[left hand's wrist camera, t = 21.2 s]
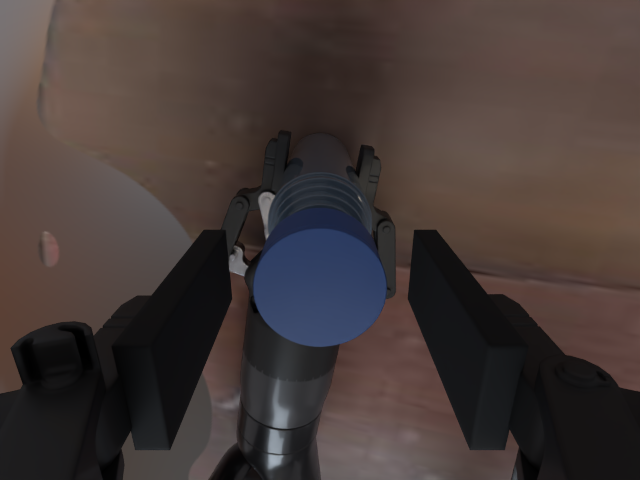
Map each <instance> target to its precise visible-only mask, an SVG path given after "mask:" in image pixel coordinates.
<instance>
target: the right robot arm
mask: <svg viewBox="0 0 640 480" xmlns="http://www.w3.org/2000/svg"><path fill="white" fill-rule="evenodd" d="M290 139H291V132H289V131H283V130H281V131H280V132H279V134H278V139H276V138H272V139H271V140H270V142H269V143H268V145H267V147H266V152H265V161H264V169H263V178H262V185H261V186H259V187H257V188H251V189H249V188H242V189H240V190H239V192H238V193H237V195H236V196H235V197H234V198H233V199H232V201H231V203H230V206H229V209H228V211H227V214H226V217H225V220H224V222H223V225H222V228H221V230H226V238H227V249H228V259H229V270H230V271H231V272H234V273H236V274H239V275H242V276H244V278H245V282H246V284H247V286H248V289H249V303H248V311H247V320H246V328H245V337H244V345H243V354H242V362H241V374H240V381H241V396H240V404H239V413H238V422H237V441H238V442H237V443H236V444H234V445H233V446H232V447H231V448H230V449H229V450H228V451H227V452H226V453H225V455H224V456H223V457H222V459H221V460H220V462H219V463H218V465H217V467H216V468H215V470H214V471H213V473H212V475H211V476H210V478H209V480H321V474H320V467H319V459H318V449H317V442H316V434H317V429H318V425H319V420H320V416H321V411H322V407H323V403H324V401H325V398H326V396H327V394H328V391H329V388H330V385H331V381H332V376H333V372H334V367H335V363H336V358H337V354H338V349H339V345H340V344H338V345H333V346H325V347H314V346H306V345H302V344H298V343H295V342H293V341H290V340H288V339H286V338H284V337H283V336H281V335H279V334H278V333H277V332H275V331H274V330H273V329H272V328H271V327H270V326H269V325H268V324H267V323H266V322H265V320H264V319H263V318H262V316H261V315H260V313H259V311H258V309H257V306H256V303H255V300H254V295H253V280H254V275H255V271H256V268H257V265H258V262H259V259H260V256H261V253H262V250H261V251H260V252H259V253H258V254H257V255H256V256H255V257H254V258H253V259H252V260H251V261H249V260H248V259H247V258H246V257H245V246H244V245H243V244H242V243H241V242H239V241H238V238H239V236H240V233H241V231H242V228H243V226H244V223H245V220H246V218H247V215H248V213H249V211H253V210H258V209H260V211H261V215H262V219H263V223H264V233H265V238H266V240H267V238H268V236H269V233H268V213H269V209H270V206H271V203H272V201H273V198H274V196H275V193H276V191H277V188H278V186H279V183H280V181H281V179H282V176H283V174H284V171H285V169H286V166H287V161H288V154H289V146H290ZM380 171H381V163H380V159H379V158H378V157H377V156H374V148H373V147H372V146H367V145H361V148H360V152H359V157H358V162H357V167H356V174H357V176H358V179H359V181H360V184H361V186H362V188H363V191H364V193H365V196H366V198H367V201H368V203H369V206H370V209H371V213H372V230H373V233H374V242H375V245H376V248H377V251H378V253H379V256H380V259H381V262H382V265H383V268H384V271H385V274H386V279H387V295H386V299H388V298H391V297H393V296H394V295H395V292H396V266H395V226H394V224H393V222H392V220H391V218H390V216H389V214H388V213H387V212H385V211H381V210H379V209H377V208H376V207H374V206H373V202H374V198H375V193H376V189H377V184H378V180H379V176H380Z"/></svg>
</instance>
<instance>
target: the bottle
mask: <svg viewBox="0 0 640 480" xmlns="http://www.w3.org/2000/svg"><path fill="white" fill-rule="evenodd" d="M311 208H329V209H334V210H338V211H341V212H344V213H346V214H348V215H350V216H352V217H353V218H355V219H356V220H358V221H359V222H360V223H361V224H362V225H363V226H364V227H365V228H366V229H367V230H368V232H369V233H370V234H371V233H372V213H371V209H370V206H369V203H368V201H367V198H366V196H365V193H364V191H363V188H362V186H361V184H360V181H359V179H358V176H357V174H356V171H355V169H354V167H353V164H352V162H351V159H350V157H349V154H348V152H347V150H346V148H345V146H344V145H343V143H342V142H341V141H340V140H338V139H337V138H336V137H334V136H332V135H330V134H326V133H314V134H310V135H308V136H306V137H304V138H303V139H301V140H300V141H299V142H298V143H297V145H296V146H295V148H294V149H293V152H292V154H291V157H290V159H289V161H288V164H287V166H286V169H285V171H284V174H283V176H282V179H281V181H280V183H279V186H278V188H277V191H276V193H275V196H274V198H273V201H272V203H271V206H270V209H269V213H268V233H269V235H270V233H271V232H272V230H273V229H274V228H275V227H276V226H277V225H278V224H279V223H280V222H281V221H282V220H284V219H285V218H287V217H288V216H290V215H292V214H294V213H296V212H299V211H302V210H306V209H311Z"/></svg>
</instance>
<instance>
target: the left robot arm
mask: <svg viewBox="0 0 640 480" xmlns="http://www.w3.org/2000/svg"><path fill="white" fill-rule="evenodd" d="M231 300H232V292H231V281H230V270H229V259H228V249H227V238H226V230H203V232H202V233H201V234H200V235H199V237H198V238H197V239H196V240H195V242H194V243H193V244H192V245H191V247H190V248H189V249H188V250H187V252H186V253H185V254H184V256H183V257H182V258H181V259H180V260H179V262H178V263H177V264H176V266H175V267H174V268H173V269H172V271H171V272H170V273H169V274H168V275H167V277H166V278H165V279H164V281H163V282H162V283H161V284H160V286H159V287H158V288H157V289H156V291H155V292H154V293H153V294H152V296H136V297H134V298H133V299H131V300H129V301H128V302H126V303H124V304H123V305H121V306H120V307H119V308H118V309H117V311H116V312H115V313H114V314H113V315H112V316H111V319H108V321H107V322H106V323H105V324H104V325H103V328H100V329H99V331H98V332H97V333H96V334H95V335H94V336H93V333H92V329H91V327H90V326H88V325H87V324H86V323H81V322H75V321H74V322H61V323H56V324H52V325H48V326H45V327H42V328H40V329H37V330H35V331H32V332H30V333H29V334H27V335H26V336H24V337H22V338H21V339H19V340H18V341H17V342H16V343H15V344H14V345H13V346H12V347H11V351H12V354H13V357H14V360H15V363H16V366H17V369H18V372H19V374H20V377H21V380H22V383H23V385H22V387H21V389H20V390H16V391H11V392H6V393H1V394H0V480H123V472H124V459H123V454H122V450H121V448H122V446H123V444H124V442H125V440H126V438H127V437H128V435H129V433H130V431H131V433H132V438H133V442H134V446H135V450H170V449H171V446H172V444H173V442H174V439H175V437H176V434H177V432H178V429H179V427H180V425H181V422H182V420H183V417H184V415H185V412H186V410H187V407H188V405H189V403H190V400H191V398H192V395H193V393H194V390H195V388H196V385H197V383H198V380H199V378H200V376H201V373H202V371H203V368H204V366H205V364H206V361H207V359H208V356H209V354H210V351H211V349H212V347H213V344H214V342H215V339H216V337H217V334H218V332H219V329H220V327H221V325H222V322H223V320H224V317H225V315H226V312H227V310H228V308H229V305H230V303H231ZM408 300H409V303H410V305H411V308H412V310H413V312H414V315H415V317H416V320H417V322H418V325H419V327H420V329H421V332H422V334H423V337H424V339H425V342H426V344H427V347H428V349H429V351H430V354H431V356H432V359H433V361H434V364H435V366H436V368H437V371H438V373H439V376H440V378H441V381H442V383H443V386H444V388H445V390H446V393H447V395H448V398H449V400H450V403H451V405H452V407H453V410H454V412H455V415H456V417H457V420H458V422H459V425H460V427H461V429H462V432H463V434H464V437H465V439H466V442H467V444H468V446H469V449H470V450H505V447H506V442H507V438H508V434H509V429H510V431H511V433H512V435H513V436H514V438H515V440H516V442H517V444H518V445H519V450H518V454H517V458H516V462H515V466H514V470H513V474H512V478H511V480H640V392H638V391H633V390H628V389H623V388H620V387H619V386H618V384H617V383H616V382H615V381H614V379H613V378H612V377H611V375H610V374H608V373H607V372H605V371H604V370H603V369H601V368H600V367H598V366H596V365H594V364H592V363H590V362H588V361H586V360H583V359H580V358H576V357H573V356H567V355H565V354H564V353H563V352H562V351H561V350H560V348H559V347H558V346H557V345H556V344H555V343H554V342H553V341H552V340H551V339H550V337H549V336H548V335H547V334H546V333H545V332H544V331H543V330H542V329H541V328H540V327H538V326H537V325H538V324H537V323H536V322H535V321H534V320H533V319H532V318H531V317H529V314H528V313H527V312H526V311H525V310H524V309H523V308H522V307H521V306H520V304H518V303H517V302H515V301H513V300H512V299H510V298H508V297H507V296H505V295H503V294H487V293H486V292H485V291H484V289H483V288H482V287H481V286H480V284H479V283H478V282H477V280H476V279H475V278H474V277H473V275H472V274H471V273H470V272H469V270H468V269H467V268H466V267H465V265H464V264H463V263H462V262H461V260H460V259H459V258H458V257H457V255H456V254H455V253H454V252H453V250H452V249H451V248H450V247H449V245H448V244H447V243H446V242H445V240H444V239H443V238H442V237H441V235H440V234H439V233H438V232H437V230H414V238H413V249H412V259H411V270H410V281H409V292H408Z"/></svg>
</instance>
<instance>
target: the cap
mask: <svg viewBox="0 0 640 480" xmlns="http://www.w3.org/2000/svg"><path fill="white" fill-rule="evenodd" d="M253 295H254V300H255V303H256V306H257V309H258V311H259V313H260V315H261V316H262V318H263V319H264V320H265V322H266V323H267V324H268V325H269V326H270V327H271V328H272V329H273V330H274V331H275V332H277V333H278V334H279V335H281V336H283V337H284V338H286V339H288V340H290V341H293V342H295V343H298V344H302V345H306V346H314V347H325V346H333V345H338V344H341V343H345V342H347V341H350V340H352V339H354V338H356V337H357V336H359V335H361V334H362V333H363V332H365V331H366V330H367V329H368V328H369V327H370V326H371V325H372V324H373V323H374V322H375V320H376V319H377V318H378V316H379V314H380V313H381V311H382V308H383V306H384V304H385V300H386V295H387V279H386V274H385V271H384V268H383V265H382V262H381V259H380V256H379V253H378V251H377V248H376V245H375V242H374V240H373V238H372V236H371V234H370V233H369V232H368V230H367V229H366V228H365V227H364V226H363V225H362V224H361V223H360V222H359V221H358V220H356V219H355V218H353V217H352V216H350V215H348V214H346V213H344V212H341V211H338V210H334V209H329V208H311V209H306V210H302V211H299V212H296V213H294V214H292V215H290V216H288V217H287V218H285V219H284V220H282V221H281V222H280V223H279V224H278V225H277V226H276V227H275V228H274V229H273V230H272V232H271V233H270V235H269V236H268V238H267V240H266V242H265V245H264V247H263V250H262V253H261V256H260V259H259V262H258V265H257V268H256V271H255V275H254V280H253Z"/></svg>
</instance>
